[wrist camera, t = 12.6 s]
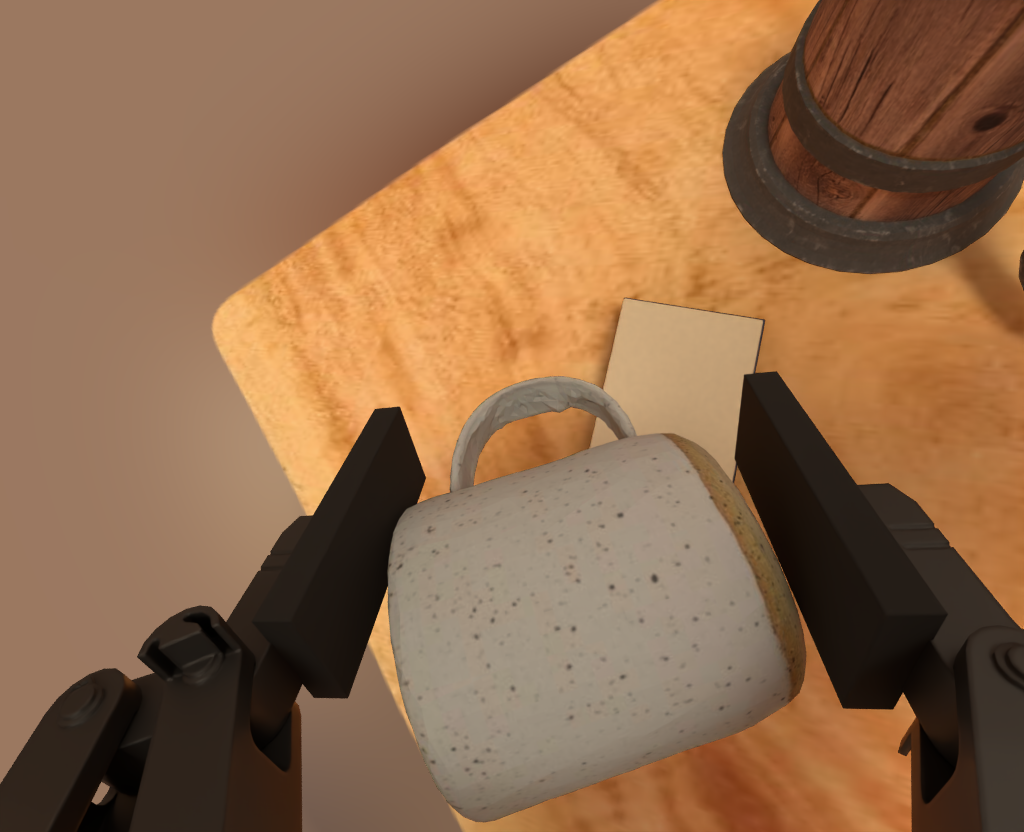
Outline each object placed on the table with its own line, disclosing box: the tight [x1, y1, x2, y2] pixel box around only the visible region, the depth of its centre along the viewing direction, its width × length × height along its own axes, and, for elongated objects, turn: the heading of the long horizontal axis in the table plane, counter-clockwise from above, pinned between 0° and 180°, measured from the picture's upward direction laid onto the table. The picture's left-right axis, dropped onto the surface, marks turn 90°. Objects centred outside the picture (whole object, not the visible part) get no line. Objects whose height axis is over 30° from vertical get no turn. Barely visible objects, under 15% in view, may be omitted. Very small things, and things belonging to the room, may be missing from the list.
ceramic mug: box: [387, 376, 806, 822], centre depth 13 cm, size 11×8×8 cm
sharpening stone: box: [589, 298, 765, 483], centre depth 28 cm, size 11×8×4 cm
